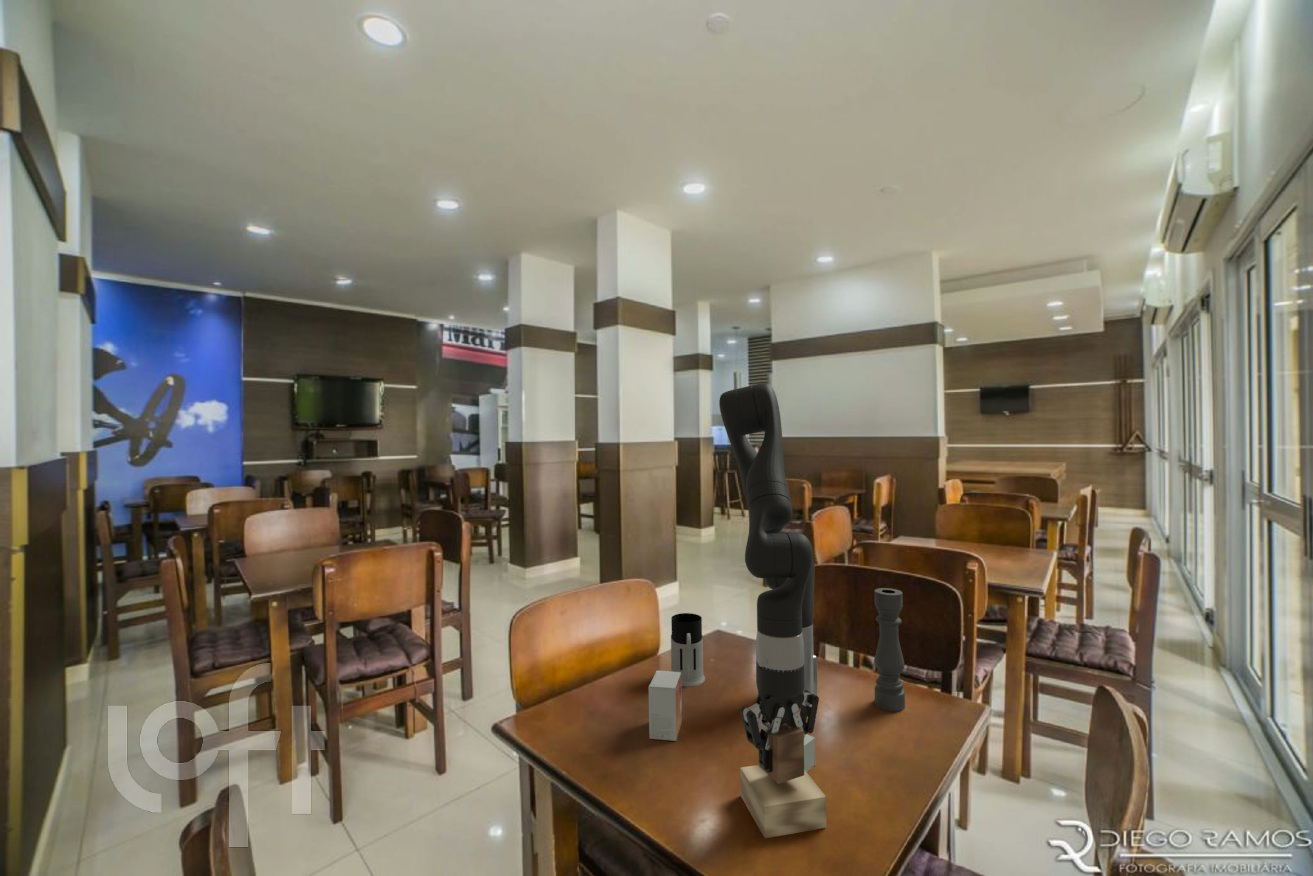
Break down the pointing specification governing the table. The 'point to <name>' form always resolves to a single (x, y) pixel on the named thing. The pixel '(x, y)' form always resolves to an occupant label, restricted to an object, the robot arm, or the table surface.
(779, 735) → the walnut block
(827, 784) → the table surface
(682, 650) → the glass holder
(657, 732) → the small box
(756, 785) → the oak block
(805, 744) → the grey cube
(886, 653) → the candle holder
